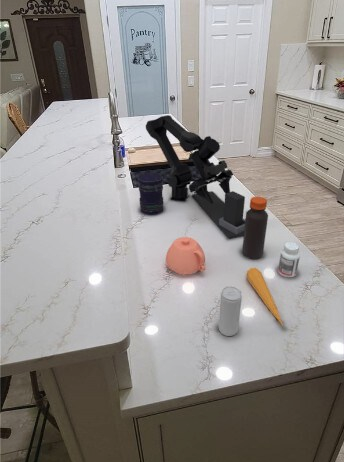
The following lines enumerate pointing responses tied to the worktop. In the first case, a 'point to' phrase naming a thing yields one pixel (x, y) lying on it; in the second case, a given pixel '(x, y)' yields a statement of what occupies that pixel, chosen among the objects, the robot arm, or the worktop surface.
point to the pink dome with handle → (185, 256)
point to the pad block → (234, 208)
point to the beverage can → (229, 310)
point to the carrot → (262, 290)
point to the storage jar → (151, 193)
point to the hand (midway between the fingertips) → (221, 200)
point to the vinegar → (255, 228)
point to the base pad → (219, 215)
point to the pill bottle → (289, 260)
